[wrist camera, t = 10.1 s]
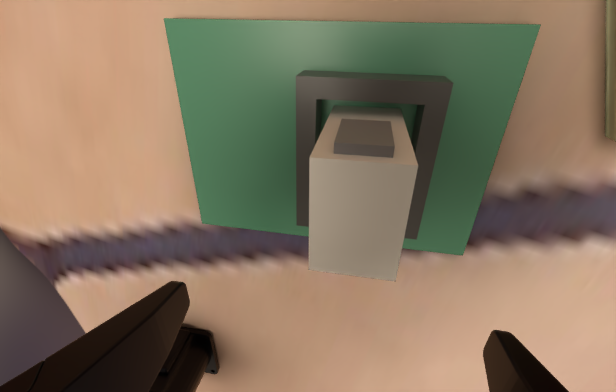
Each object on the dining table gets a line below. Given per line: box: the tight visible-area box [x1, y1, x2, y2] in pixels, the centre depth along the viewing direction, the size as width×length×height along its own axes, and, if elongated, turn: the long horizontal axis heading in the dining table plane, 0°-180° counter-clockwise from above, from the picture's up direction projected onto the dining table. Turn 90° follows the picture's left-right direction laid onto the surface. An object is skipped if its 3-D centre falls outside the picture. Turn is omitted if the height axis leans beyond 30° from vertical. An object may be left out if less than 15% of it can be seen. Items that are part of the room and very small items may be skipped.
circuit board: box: [164, 18, 541, 256], centre depth 18 cm, size 13×18×3 cm
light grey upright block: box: [309, 105, 418, 281], centre depth 14 cm, size 5×4×8 cm, turn 179°
